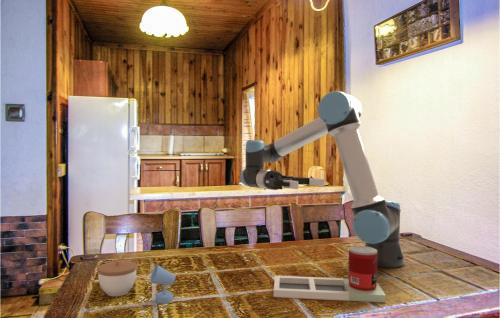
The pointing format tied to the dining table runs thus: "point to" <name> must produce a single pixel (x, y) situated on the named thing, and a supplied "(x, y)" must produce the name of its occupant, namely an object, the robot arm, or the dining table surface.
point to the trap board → (324, 289)
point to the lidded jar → (117, 277)
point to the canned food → (362, 268)
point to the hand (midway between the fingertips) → (311, 184)
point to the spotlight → (163, 278)
